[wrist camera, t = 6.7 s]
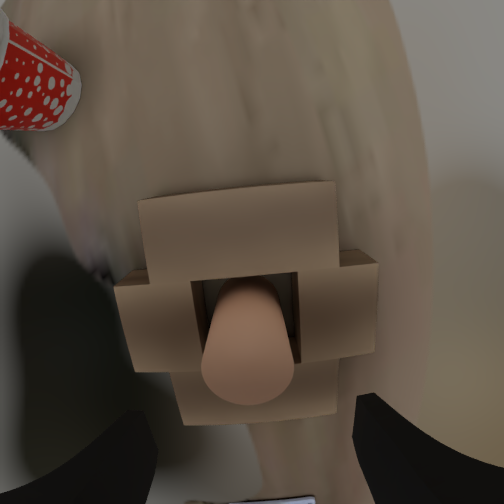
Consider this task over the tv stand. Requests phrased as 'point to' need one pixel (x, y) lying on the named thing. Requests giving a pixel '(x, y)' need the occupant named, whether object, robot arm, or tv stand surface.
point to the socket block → (240, 265)
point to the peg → (247, 343)
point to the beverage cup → (33, 82)
